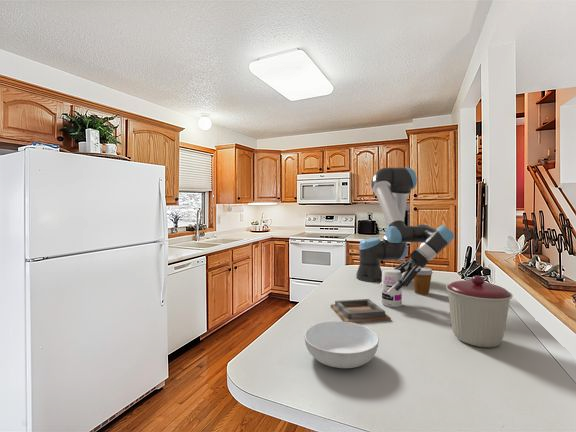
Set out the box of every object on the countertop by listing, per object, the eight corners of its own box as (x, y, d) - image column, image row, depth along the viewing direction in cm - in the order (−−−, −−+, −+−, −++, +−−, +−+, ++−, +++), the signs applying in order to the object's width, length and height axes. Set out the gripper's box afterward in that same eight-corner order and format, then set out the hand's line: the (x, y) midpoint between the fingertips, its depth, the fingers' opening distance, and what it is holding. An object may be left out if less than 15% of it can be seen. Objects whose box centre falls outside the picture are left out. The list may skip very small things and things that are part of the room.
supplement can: (398, 301, 135) (399, 268, 134) (403, 308, 126) (404, 273, 126) (380, 301, 135) (380, 268, 135) (384, 307, 127) (384, 272, 126)
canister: (446, 324, 109) (447, 267, 108) (507, 335, 100) (509, 273, 99) (443, 344, 94) (444, 278, 93) (514, 360, 85) (517, 286, 84)
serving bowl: (328, 335, 101) (328, 315, 101) (389, 355, 88) (390, 332, 87) (289, 361, 85) (289, 337, 85) (357, 390, 72) (357, 362, 71)
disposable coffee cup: (435, 296, 143) (436, 271, 142) (415, 295, 143) (416, 271, 142) (427, 290, 152) (427, 266, 152) (408, 290, 152) (408, 266, 152)
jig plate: (330, 306, 128) (330, 299, 128) (370, 304, 131) (370, 297, 131) (345, 323, 111) (345, 315, 111) (390, 320, 114) (390, 312, 113)
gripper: (440, 267, 117) (400, 305, 119) (418, 256, 141) (384, 288, 143) (427, 254, 117) (386, 292, 119) (406, 245, 141) (373, 277, 143)
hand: (385, 290), depth 131 cm, fingers open, 11 cm apart
